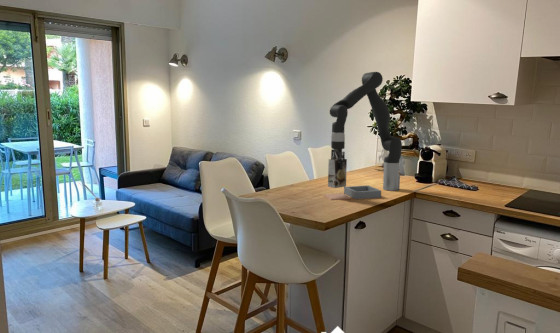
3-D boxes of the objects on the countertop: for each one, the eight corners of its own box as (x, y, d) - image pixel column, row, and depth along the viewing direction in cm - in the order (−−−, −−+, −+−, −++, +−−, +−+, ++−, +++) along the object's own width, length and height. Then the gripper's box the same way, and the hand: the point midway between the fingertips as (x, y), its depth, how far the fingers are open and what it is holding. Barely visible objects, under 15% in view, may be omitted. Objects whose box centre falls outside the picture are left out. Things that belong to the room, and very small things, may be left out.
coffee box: (335, 188, 235) (336, 160, 233) (327, 186, 240) (327, 159, 238) (346, 186, 240) (347, 158, 238) (338, 184, 245) (339, 157, 243)
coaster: (342, 194, 248) (342, 193, 248) (350, 198, 237) (350, 197, 237) (323, 195, 245) (323, 194, 245) (331, 199, 234) (331, 198, 234)
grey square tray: (368, 191, 255) (368, 185, 254) (380, 197, 240) (381, 190, 239) (344, 193, 251) (344, 186, 250) (355, 199, 236) (355, 192, 235)
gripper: (349, 141, 230) (348, 170, 233) (339, 139, 244) (338, 166, 246) (336, 141, 228) (336, 170, 231) (327, 139, 242) (326, 167, 245)
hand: (337, 168), depth 239 cm, fingers closed on coffee box, 8 cm apart
